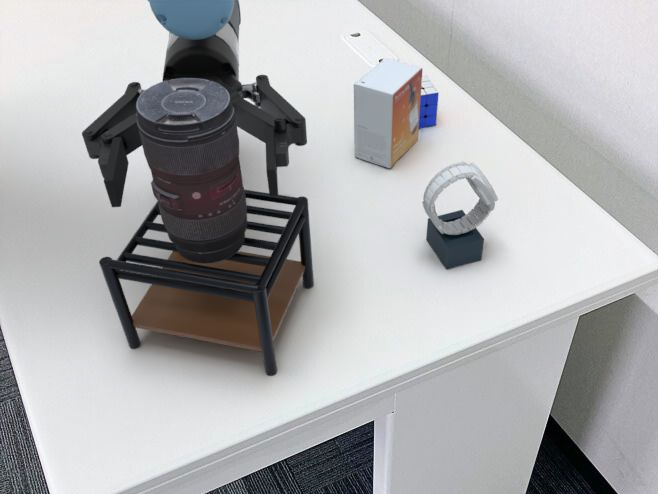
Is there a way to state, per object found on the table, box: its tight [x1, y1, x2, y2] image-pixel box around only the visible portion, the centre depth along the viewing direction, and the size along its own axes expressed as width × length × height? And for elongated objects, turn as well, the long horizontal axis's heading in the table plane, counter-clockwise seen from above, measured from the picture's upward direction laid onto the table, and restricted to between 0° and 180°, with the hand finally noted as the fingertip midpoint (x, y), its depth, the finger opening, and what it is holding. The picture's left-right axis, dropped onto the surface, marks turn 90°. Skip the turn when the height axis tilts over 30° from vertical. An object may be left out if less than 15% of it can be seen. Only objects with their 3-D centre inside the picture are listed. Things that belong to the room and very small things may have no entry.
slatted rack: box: [98, 189, 315, 376], centre depth 75 cm, size 16×14×12 cm
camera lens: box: [136, 78, 248, 263], centre depth 66 cm, size 8×8×15 cm
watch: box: [421, 161, 499, 270], centre depth 81 cm, size 6×8×11 cm
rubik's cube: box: [419, 74, 439, 129], centre depth 102 cm, size 5×5×5 cm
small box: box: [353, 57, 423, 169], centre depth 95 cm, size 8×6×10 cm
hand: (192, 189), depth 63 cm, fingers open, 13 cm apart
